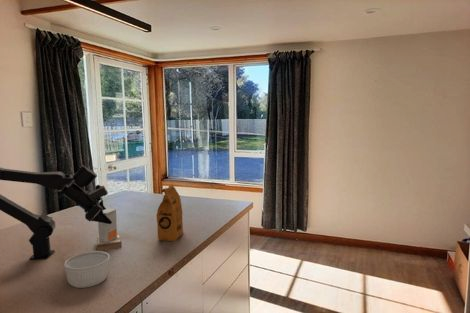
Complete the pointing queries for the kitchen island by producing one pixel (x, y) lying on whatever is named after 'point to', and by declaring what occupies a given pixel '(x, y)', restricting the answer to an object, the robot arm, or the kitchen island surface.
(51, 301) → the kitchen island surface
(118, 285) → the kitchen island surface
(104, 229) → the skincare box
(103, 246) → the plinth
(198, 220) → the kitchen island surface
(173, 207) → the coffee package
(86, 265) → the ramekin
